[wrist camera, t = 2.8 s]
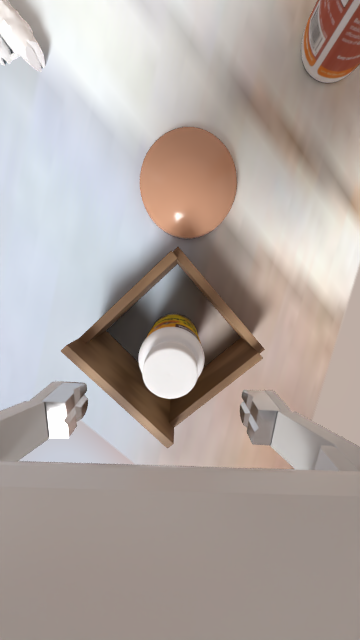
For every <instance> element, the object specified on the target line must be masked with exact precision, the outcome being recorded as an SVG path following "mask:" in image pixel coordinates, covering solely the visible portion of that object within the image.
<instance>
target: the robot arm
mask: <svg viewBox="0 0 360 640" xmlns="http://www.w3.org/2000/svg"><path fill="white" fill-rule="evenodd" d="M86 391H87V385H86V384H85V383H78V382H62V381H55V382H52V383H51V384H49V385H48V386H47V387H46V388H45V389H43V390H42V391H41V392H40V393H38V394H37V395H36V396H35V397H33V398H32V399H31V400H30V401H24V402H22V403H19V404H17V405H14V406H12V407H9V408H7V409H4V410H2V411H0V640H360V447H359V446H357V445H356V444H354V443H352V442H350V441H348V440H346V439H345V438H343V437H341V436H339V435H337V434H335V433H333V432H332V431H330V430H328V429H326V428H324V427H323V426H321V425H319V424H317V423H315V422H313V421H312V420H310V419H308V418H306V417H304V416H302V415H301V414H299V413H297V412H292V411H291V410H290V408H289V407H288V406H287V405H286V404H285V403H284V402H283V400H282V399H281V398H280V397H279V396H278V395H277V394H276V392H275V391H273V390H243V392H242V398H243V400H244V401H243V402H242V404H241V405H240V417H241V420H242V423H243V425H244V426H246V427H247V434H248V436H249V438H250V440H251V442H252V444H255V445H271V447H272V448H273V449H274V450H275V451H276V452H277V453H278V454H279V455H281V456H282V457H283V458H284V459H285V460H286V461H287V462H288V463H289V464H290V465H291V466H292V467H293V468H294V469H295V470H294V469H261V468H227V467H194V466H163V465H132V464H98V463H63V462H30V461H29V462H28V461H19V460H20V459H21V458H23V457H24V456H26V455H27V454H28V453H30V452H31V451H33V450H34V449H35V448H37V447H38V446H40V445H41V444H42V443H44V442H45V441H47V440H48V439H49V438H69V436H70V435H71V434H72V432H73V431H74V429H75V428H76V427H77V423H76V422H77V421H79V420H81V419H82V418H83V416H84V415H85V413H86V410H87V406H88V398H87V397H86V396H85V395H84V394H85V393H86Z"/></svg>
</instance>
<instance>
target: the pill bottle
mask: <svg viewBox="0 0 360 640" xmlns="http://www.w3.org/2000/svg"><path fill="white" fill-rule="evenodd" d="M301 53H302V60H303V64H304V67H305V69H306V70H307V72H308V73H309V74H310V75H311V76H312V77H313V78H314V79H316V80H318V81H320V82H325V83H332V82H336V81H339V80H341V79H343V78H345V77H346V76H348V75H349V74H350V73H352V72H353V71H354V70H355V68H356V67H357V66H358V65H359V64H360V0H318V1H317V3H316V5H315V7H314V9H313V11H312V13H311V15H310V17H309V19H308V22H307V24H306V27H305V30H304V33H303V37H302V45H301Z"/></svg>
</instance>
